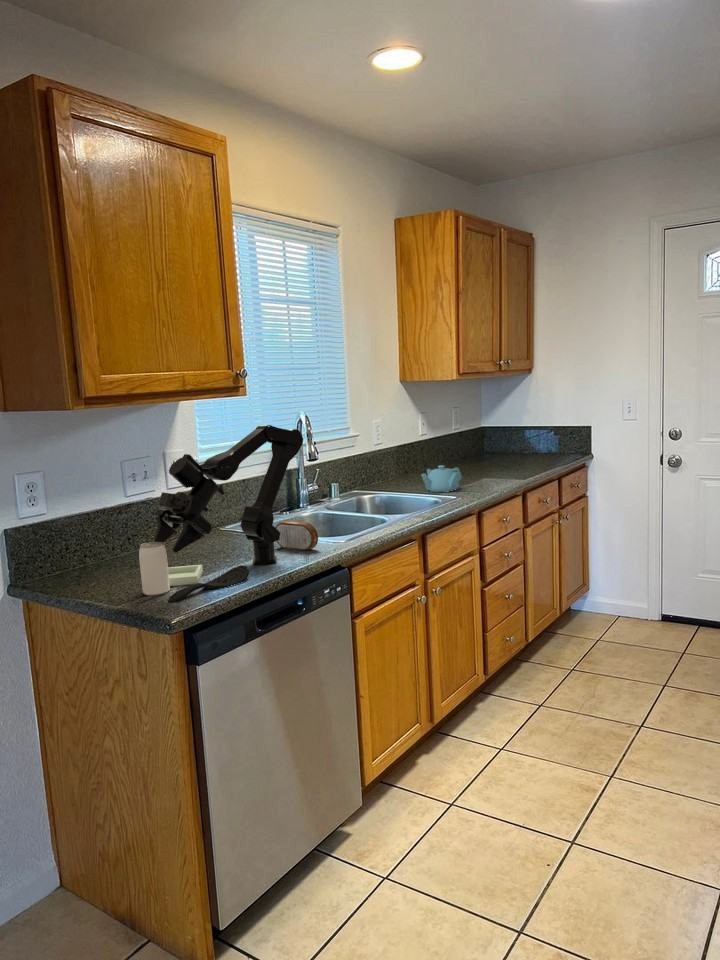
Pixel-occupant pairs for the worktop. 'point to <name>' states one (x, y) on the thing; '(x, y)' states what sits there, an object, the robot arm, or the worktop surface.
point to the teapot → (442, 479)
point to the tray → (184, 575)
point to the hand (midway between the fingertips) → (163, 549)
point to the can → (154, 568)
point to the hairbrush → (214, 582)
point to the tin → (297, 535)
